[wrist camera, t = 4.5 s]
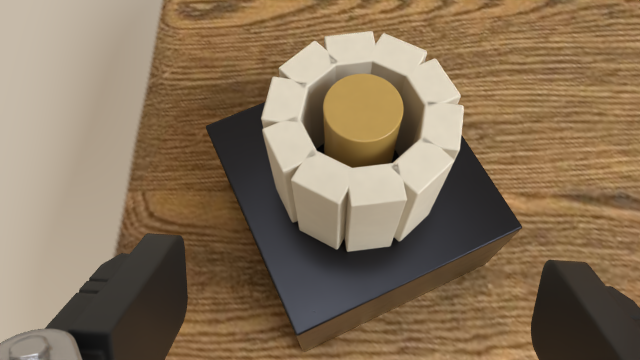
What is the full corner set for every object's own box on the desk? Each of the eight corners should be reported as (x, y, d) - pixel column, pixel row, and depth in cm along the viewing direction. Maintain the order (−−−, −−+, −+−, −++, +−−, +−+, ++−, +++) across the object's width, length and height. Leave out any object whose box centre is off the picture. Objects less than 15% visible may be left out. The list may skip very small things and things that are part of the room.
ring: (318, 279, 18) (315, 241, 14) (252, 139, 21) (233, 71, 17) (467, 210, 19) (503, 155, 15) (388, 83, 22) (401, 6, 18)
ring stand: (303, 352, 22) (285, 310, 13) (227, 177, 26) (171, 49, 17) (486, 263, 24) (580, 171, 15) (391, 108, 27) (421, -44, 18)
